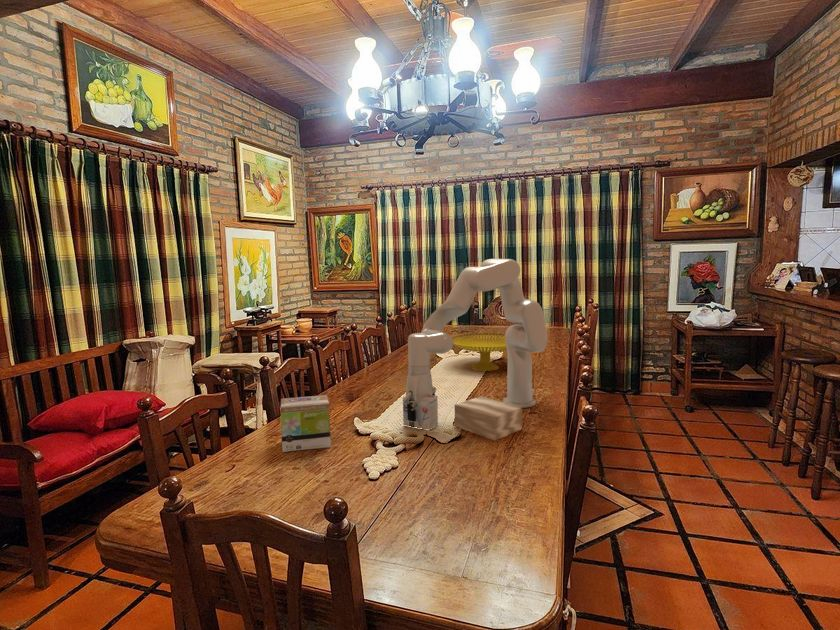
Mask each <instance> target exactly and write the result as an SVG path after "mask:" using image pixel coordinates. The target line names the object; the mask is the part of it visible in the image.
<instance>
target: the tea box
mask: <svg viewBox="0 0 840 630" xmlns="http://www.w3.org/2000/svg"><path fill="white" fill-rule="evenodd" d="M330 405H331V404H330V402H329V397H328V394H324V395H323V394H322V395H312V396H311V395H310V396H299V397H287V398H285V397H284V398H281V399H280V430H281V434H280V435H281V448H282V449H281V450H282V451H281V452H282V453H287V452H295V451H303V450H304V451H305V450H314V449H327V448H331V446H332V445H331V444H332V441H331V439H332V438H331V414H330V413H331V411H330V410H331V409H330Z"/></svg>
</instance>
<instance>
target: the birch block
mask: <svg viewBox="0 0 840 630" xmlns="http://www.w3.org/2000/svg"><path fill="white" fill-rule="evenodd" d="M522 411H523V408H522V407H518V406H515V405H511V404H508V403H504V402H503V401H502V400H497V399H492V398H489V397H486V396H483V395H480V396H478V397H475V398H471V399H469V400H465V401H462V402H459V403H455V404H454V427H456V428H459V429H462V430H464V431H468V432H470V433H472V434H475V435H478V436H482V437H484V438H487V439H490V440H492V441H497V440H499V439H500V440H501V439H503V438H505V437H507V436H509V435H511V433H512V434H514V433H516V432H519V431H521V430H522V416H523V415H522V414H523V412H522ZM518 430H519V431H518Z"/></svg>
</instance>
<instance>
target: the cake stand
mask: <svg viewBox="0 0 840 630" xmlns="http://www.w3.org/2000/svg"><path fill="white" fill-rule="evenodd" d="M451 337H452V339H453V346H455V347H457V348H459V349H460V350H464V351H471V352H478V353H479V362H478V363H477V362H476V363H475V364H473V365H472V366H471V369H472V368H474V369H473V370H475V369H477V370H476V371H480V370H487V371H486V372H488V371H489V372H490V371H496V370H499V368H500V366H499V365H496V364H495V363H493V362H491V353H492V352H502V351H507V347H506V342H505V333H496V332H477V333H475V332H472V333H462V334H456V335H452V336H451Z"/></svg>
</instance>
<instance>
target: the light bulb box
mask: <svg viewBox="0 0 840 630" xmlns="http://www.w3.org/2000/svg"><path fill="white" fill-rule="evenodd" d="M405 397H406V395H405V396H403V397H402V400H403V399H404V398H405ZM412 401H414V400H413V399H412ZM412 405H413V403H411V406H412ZM438 407H439V406H438V395H435V396H434V395H430V396H428V397H425V398H423V399H421V400H420V403H418V404H416V407H415V409H414V410H416V421H415V422H413V421H409V420H408V413H407V409H406V407H405V406H404V403H403V402H402V413H403V415H402V418H403V419H402V420H403V422H402V423H403V424H402V425H407V426H411V427H417V428H422V429H431V428H433V427H434V426H436V425H437V424H438V425H439V421H438V420H439V418H438V415H439V414H438V413H439V411H438ZM438 425H437V426H438ZM437 426H436V427H437ZM434 428H435V427H434ZM434 428H433V429H434Z"/></svg>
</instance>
